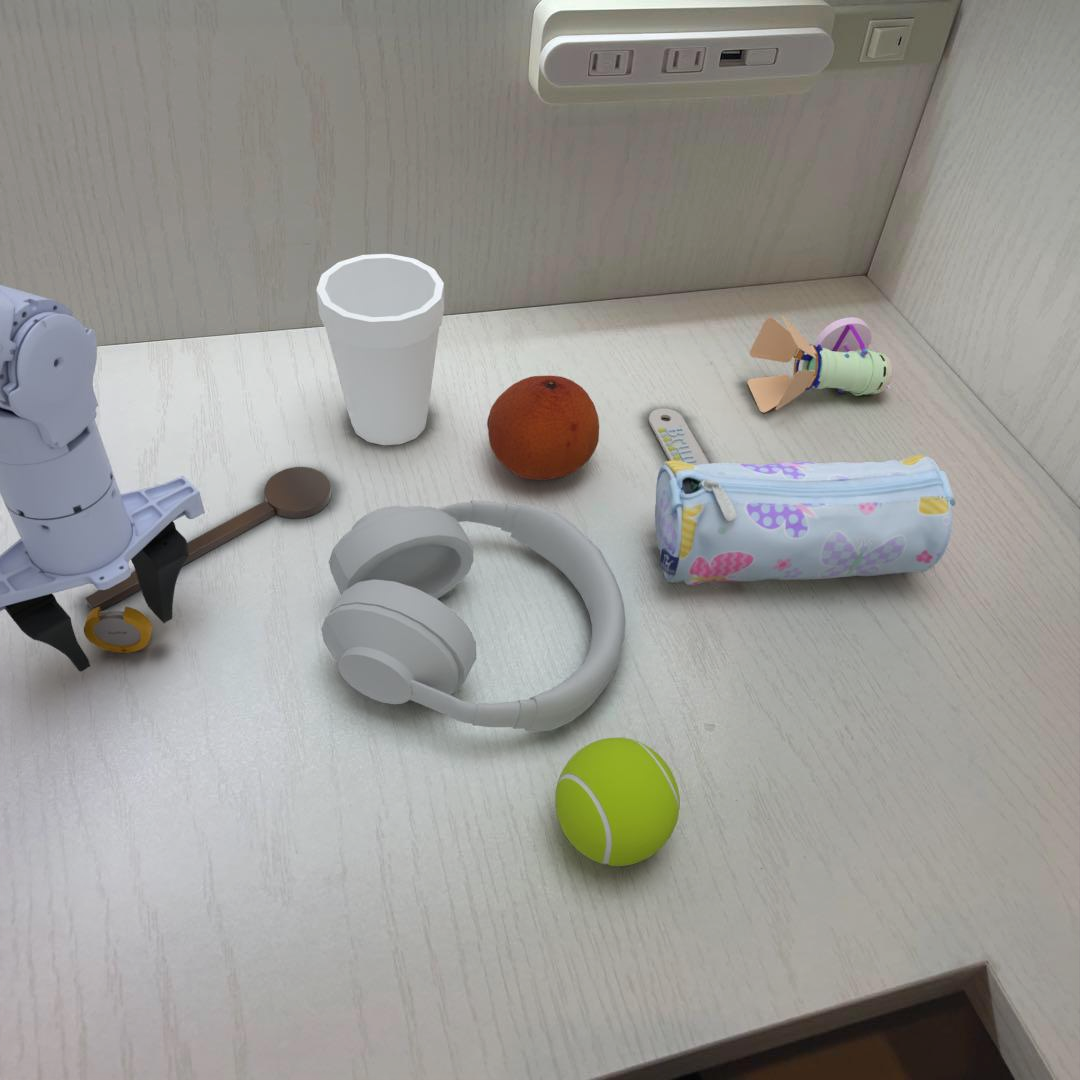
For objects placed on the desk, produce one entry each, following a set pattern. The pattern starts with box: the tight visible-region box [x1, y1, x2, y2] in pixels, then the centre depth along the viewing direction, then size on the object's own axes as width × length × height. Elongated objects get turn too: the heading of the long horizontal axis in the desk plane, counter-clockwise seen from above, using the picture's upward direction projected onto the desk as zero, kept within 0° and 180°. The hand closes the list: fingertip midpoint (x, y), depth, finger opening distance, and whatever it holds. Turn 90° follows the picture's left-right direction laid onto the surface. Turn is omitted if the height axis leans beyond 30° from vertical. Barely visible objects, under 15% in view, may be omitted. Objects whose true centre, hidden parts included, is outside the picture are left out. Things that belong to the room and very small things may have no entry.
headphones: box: [320, 500, 626, 733], centre depth 65 cm, size 18×8×20 cm
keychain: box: [648, 407, 710, 465], centre depth 82 cm, size 10×1×3 cm
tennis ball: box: [554, 737, 681, 867], centre depth 55 cm, size 7×7×7 cm
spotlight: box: [747, 315, 894, 413], centre depth 87 cm, size 12×8×8 cm
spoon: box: [85, 466, 332, 612], centre depth 71 cm, size 20×5×1 cm, turn 135°
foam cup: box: [315, 253, 445, 446], centre depth 78 cm, size 10×9×13 cm
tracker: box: [83, 605, 153, 654], centre depth 63 cm, size 4×1×4 cm, turn 94°
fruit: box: [486, 375, 600, 481], centre depth 77 cm, size 9×9×8 cm
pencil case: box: [654, 454, 957, 586], centre depth 70 cm, size 21×9×10 cm, turn 94°
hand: (120, 635), depth 63 cm, fingers open, 5 cm apart
